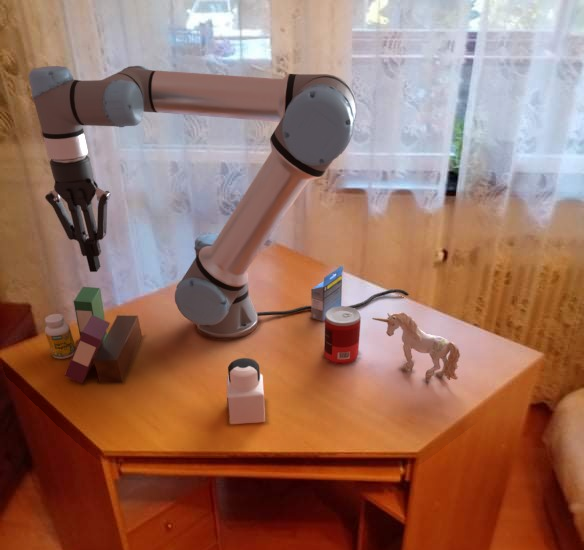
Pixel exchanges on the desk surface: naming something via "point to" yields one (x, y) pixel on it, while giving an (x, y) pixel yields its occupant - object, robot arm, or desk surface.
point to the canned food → (342, 334)
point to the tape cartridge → (326, 295)
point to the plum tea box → (87, 349)
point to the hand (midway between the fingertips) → (95, 269)
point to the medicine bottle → (245, 392)
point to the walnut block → (118, 349)
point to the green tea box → (88, 307)
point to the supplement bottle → (59, 336)
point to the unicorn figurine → (424, 345)
